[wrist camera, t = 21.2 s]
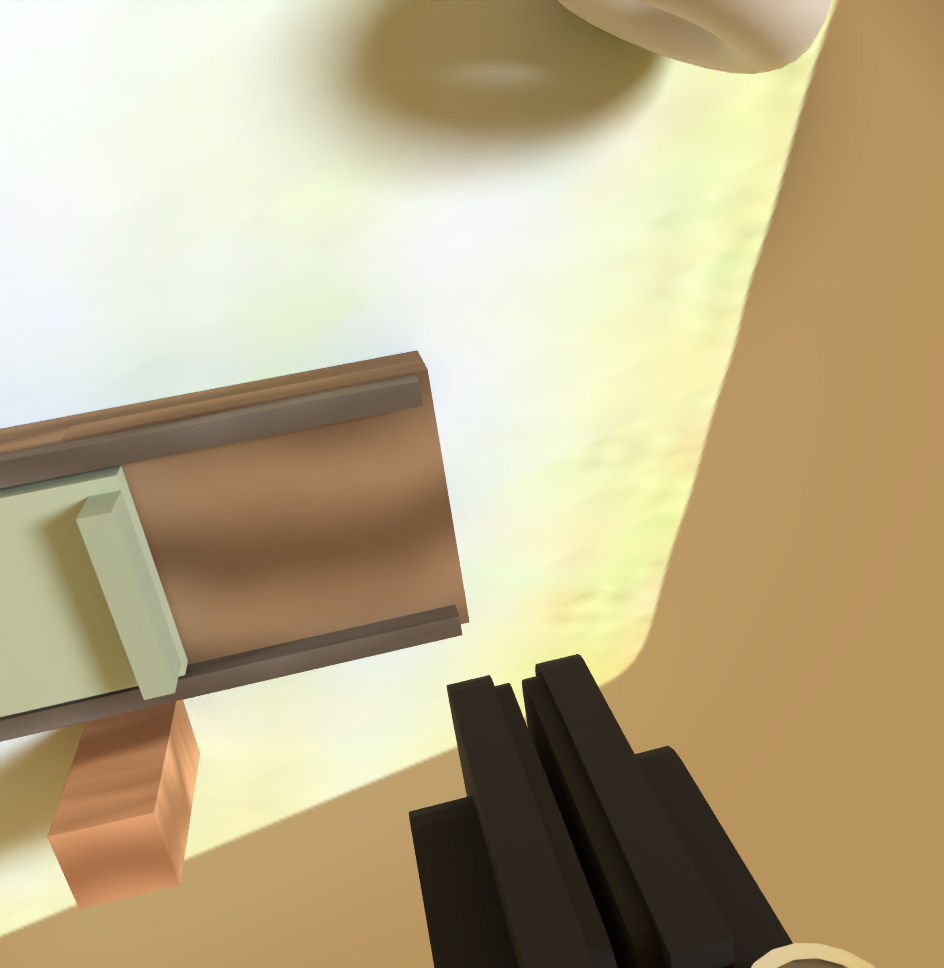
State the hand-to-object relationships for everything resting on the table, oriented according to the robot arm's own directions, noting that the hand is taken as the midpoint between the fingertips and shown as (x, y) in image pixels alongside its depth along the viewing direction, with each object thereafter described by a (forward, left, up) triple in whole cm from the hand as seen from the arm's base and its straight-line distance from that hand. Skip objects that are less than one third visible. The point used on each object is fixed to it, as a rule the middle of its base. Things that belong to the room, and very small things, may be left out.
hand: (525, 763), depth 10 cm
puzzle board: (+8, -9, -27) cm, 30 cm away
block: (+18, -14, -27) cm, 35 cm away
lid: (+8, -14, -24) cm, 29 cm away
